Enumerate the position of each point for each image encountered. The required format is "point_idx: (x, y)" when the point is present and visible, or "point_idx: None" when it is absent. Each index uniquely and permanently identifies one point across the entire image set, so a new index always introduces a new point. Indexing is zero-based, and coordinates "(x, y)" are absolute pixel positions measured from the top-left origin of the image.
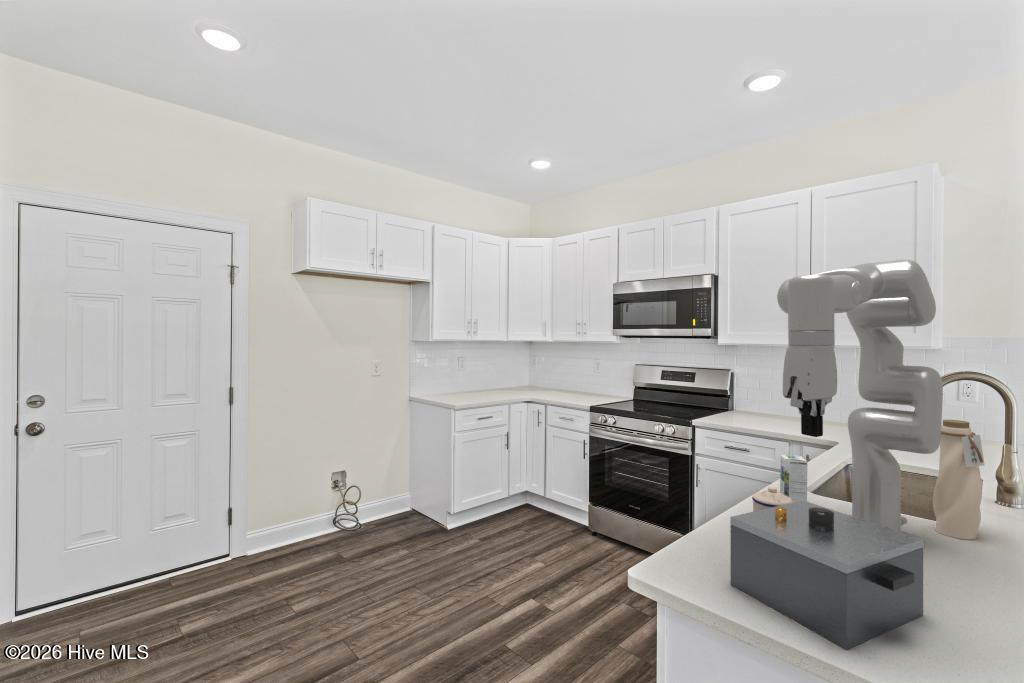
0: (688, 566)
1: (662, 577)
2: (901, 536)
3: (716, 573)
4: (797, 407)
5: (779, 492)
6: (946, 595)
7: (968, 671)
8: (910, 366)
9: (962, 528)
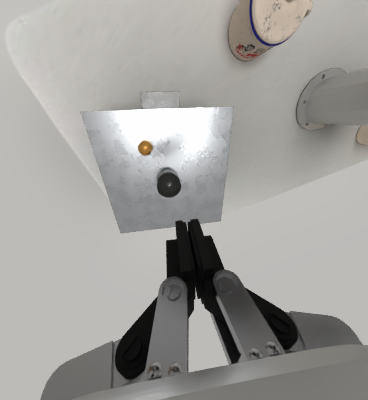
0: (84, 55)
1: (38, 64)
2: (211, 214)
3: (109, 87)
4: (126, 332)
5: (298, 1)
6: (241, 185)
7: None
8: None
9: (366, 141)
